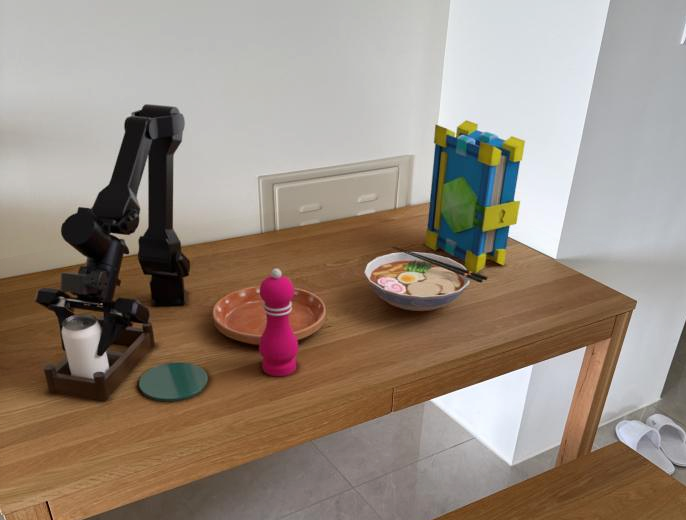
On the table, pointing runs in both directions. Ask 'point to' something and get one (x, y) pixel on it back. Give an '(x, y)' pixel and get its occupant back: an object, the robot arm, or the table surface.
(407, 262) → the ramen bowl
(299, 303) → the saucer
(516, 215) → the decorative book
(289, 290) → the pepper mill
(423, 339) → the table surface
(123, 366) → the rack
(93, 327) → the can
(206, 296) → the table surface
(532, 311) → the table surface
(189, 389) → the coaster
